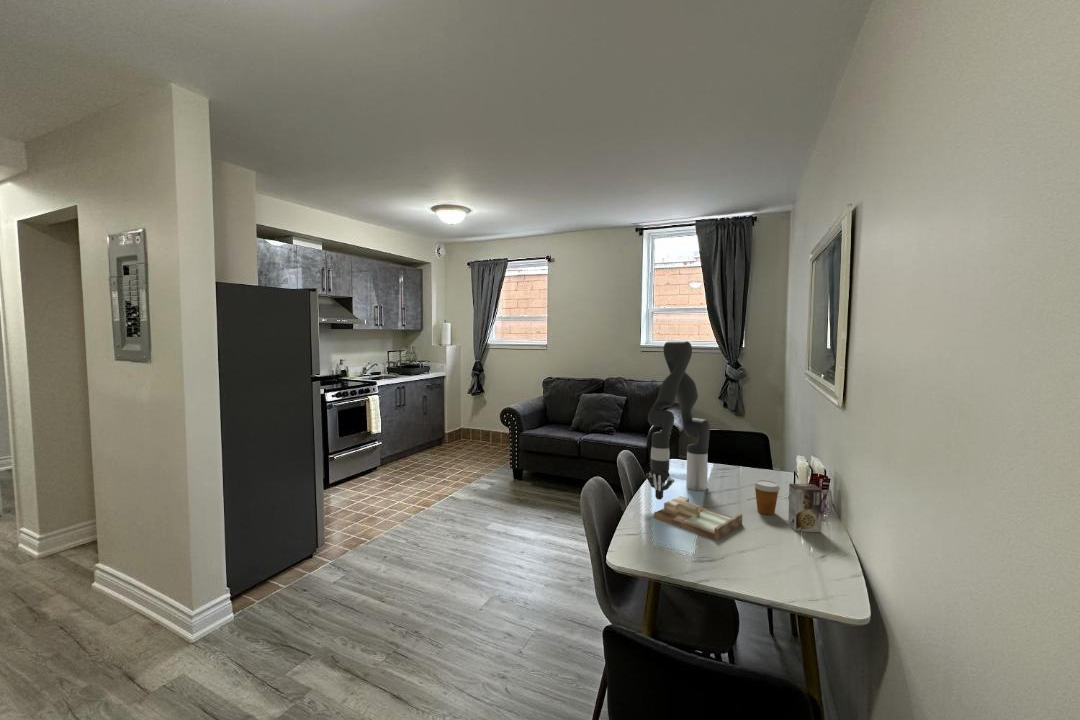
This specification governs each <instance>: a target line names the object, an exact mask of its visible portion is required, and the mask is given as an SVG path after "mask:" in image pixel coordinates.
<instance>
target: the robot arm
mask: <svg viewBox="0 0 1080 720" xmlns="http://www.w3.org/2000/svg"><path fill="white" fill-rule="evenodd" d="M692 355H693V346H692V344H691V342H690V341H688V340H670V341H666V342H665V343H664V345H663V356H664V359H665V362H666V365H667V367H668V371H669V372H670V373H669V375H667V377H666V378H665V379H664V380H663V381H662V383H661V385H660V388H659V391H658V395H657V399H656V400H655V402H654V404H653V405H652V407H651V408H650V411H648V414H647V421H648V423H649V425H650V426H653V427H657V428H659V427H660V428H662V430H661V431H656V432H653V433H652V434H651V449H650V471H649V473H646V474H645V475H644V476H645V478H646V480H647V481H648V483H649V485H650V488H653V489H654V491H655V498H656V500H662V499H663V498H664V491H667V490H668V489H669V488H671V486H672V485H673V484H674V483H675V479H672V478H671V476H670V475H671V474H670V454H671V453H670V436H671V434H672V430H673V426H674V424H675V415H674V413H673V412H672V411H671V410H666V408H671V407H673V406H674V404H675V401H676V398H677V401H678V405H679V409H680V415H681V421H682V427H683V431H684V433H685V435H686V436H687V437H690V438H695V439H698V440H697V442H696V443H691V444H687V446H686V447H687V448H686V480H685V481H686V482H685V483H686V488H687V489H688V490H691V491H699V492H700V491H707V489H708V472H709V471H708V453H709V451H708V450H709V447H710V446H709V445H710V443H709V441H710V430H711V429H710V428H711V426H710V422H709V421H708V419H705V418H698V417H694V416H693V413H692V410H693V408H694V407H695V405H696V402H697V400H698V397H699V395H698V394H699V393H698V389H697V386H696V382H695V381H694V380H693V378H692V377H691V376H690V375H689V374H688V373H687V372H686V370H687V367H688V366H689V364H690V361H691V358H692ZM664 409H665V410H664Z"/></svg>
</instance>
